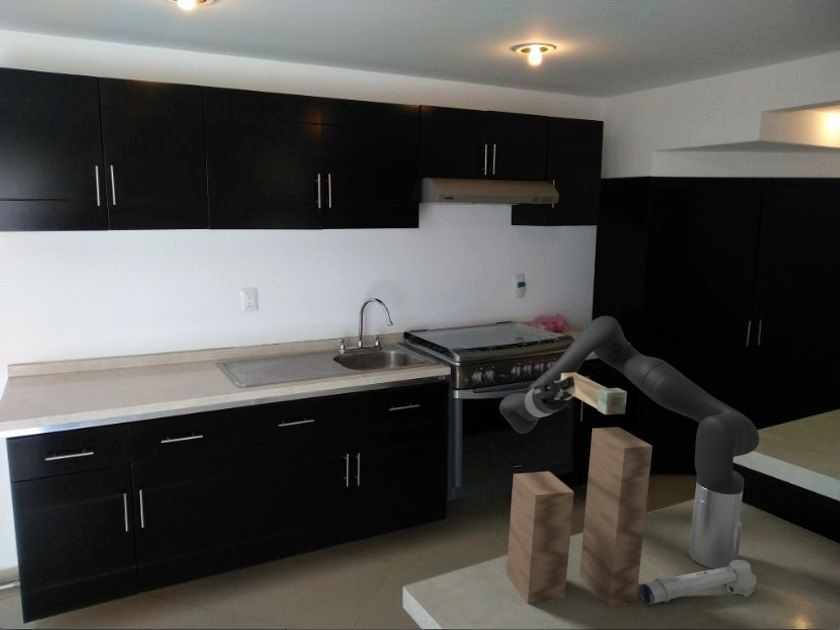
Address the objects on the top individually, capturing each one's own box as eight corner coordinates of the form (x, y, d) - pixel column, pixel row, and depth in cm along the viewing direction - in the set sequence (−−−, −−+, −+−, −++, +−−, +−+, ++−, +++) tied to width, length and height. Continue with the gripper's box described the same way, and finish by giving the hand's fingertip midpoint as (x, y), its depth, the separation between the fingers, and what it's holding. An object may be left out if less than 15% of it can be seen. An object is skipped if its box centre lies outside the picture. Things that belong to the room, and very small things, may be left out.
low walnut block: (541, 570, 132) (549, 471, 129) (564, 598, 122) (573, 491, 119) (506, 574, 130) (513, 474, 126) (527, 603, 120) (535, 495, 117)
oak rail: (575, 387, 142) (577, 368, 141) (624, 413, 124) (626, 392, 123) (558, 388, 141) (559, 369, 140) (605, 414, 123) (607, 392, 122)
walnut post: (604, 572, 132) (618, 427, 127) (636, 603, 122) (652, 446, 117) (579, 575, 130) (592, 428, 126) (609, 607, 120) (624, 447, 115)
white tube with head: (637, 577, 124) (743, 549, 130) (638, 607, 125) (743, 578, 131) (653, 592, 119) (762, 563, 125) (654, 623, 120) (762, 593, 126)
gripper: (516, 384, 150) (548, 364, 135) (569, 382, 154) (606, 363, 139) (521, 415, 148) (554, 398, 132) (574, 413, 152) (612, 396, 136)
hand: (580, 380), depth 136 cm, fingers closed on oak rail, 3 cm apart
